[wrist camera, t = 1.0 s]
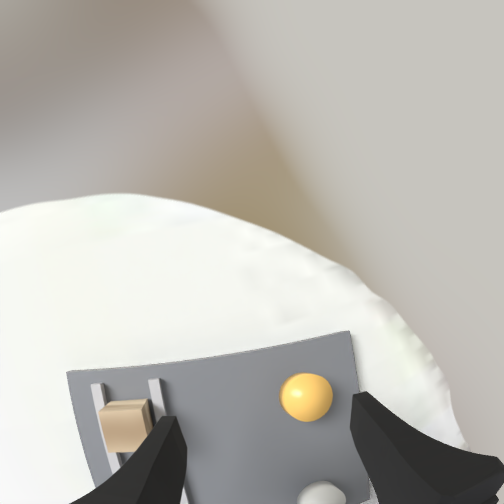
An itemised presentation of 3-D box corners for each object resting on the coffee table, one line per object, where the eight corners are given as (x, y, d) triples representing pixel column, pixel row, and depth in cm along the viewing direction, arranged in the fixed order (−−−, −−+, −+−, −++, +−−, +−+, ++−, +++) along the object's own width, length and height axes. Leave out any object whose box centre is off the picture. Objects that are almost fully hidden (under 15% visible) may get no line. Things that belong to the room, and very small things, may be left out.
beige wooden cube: (155, 434, 21) (150, 450, 17) (118, 436, 20) (108, 452, 16) (147, 398, 22) (141, 409, 18) (110, 401, 21) (98, 411, 17)
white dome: (338, 505, 20) (347, 514, 19) (299, 519, 20) (306, 528, 18) (334, 475, 21) (344, 482, 20) (294, 488, 20) (301, 497, 19)
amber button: (325, 409, 23) (335, 414, 21) (282, 421, 22) (290, 427, 20) (319, 367, 24) (329, 369, 22) (275, 378, 23) (282, 380, 21)
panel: (362, 494, 24) (374, 502, 22) (123, 542, 18) (120, 555, 16) (341, 331, 28) (355, 330, 26) (72, 370, 22) (62, 372, 20)
